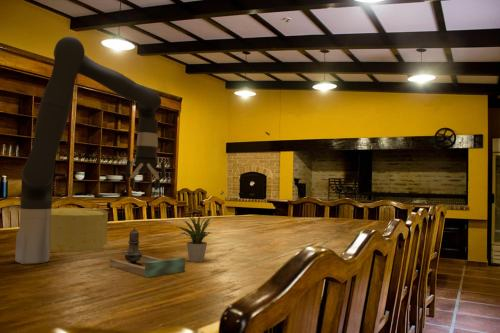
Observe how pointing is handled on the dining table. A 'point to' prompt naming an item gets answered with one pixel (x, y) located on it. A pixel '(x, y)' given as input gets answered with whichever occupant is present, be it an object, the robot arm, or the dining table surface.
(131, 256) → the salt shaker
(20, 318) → the dining table surface
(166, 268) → the guide channel
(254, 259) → the dining table surface
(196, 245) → the house plant
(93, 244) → the cheese
